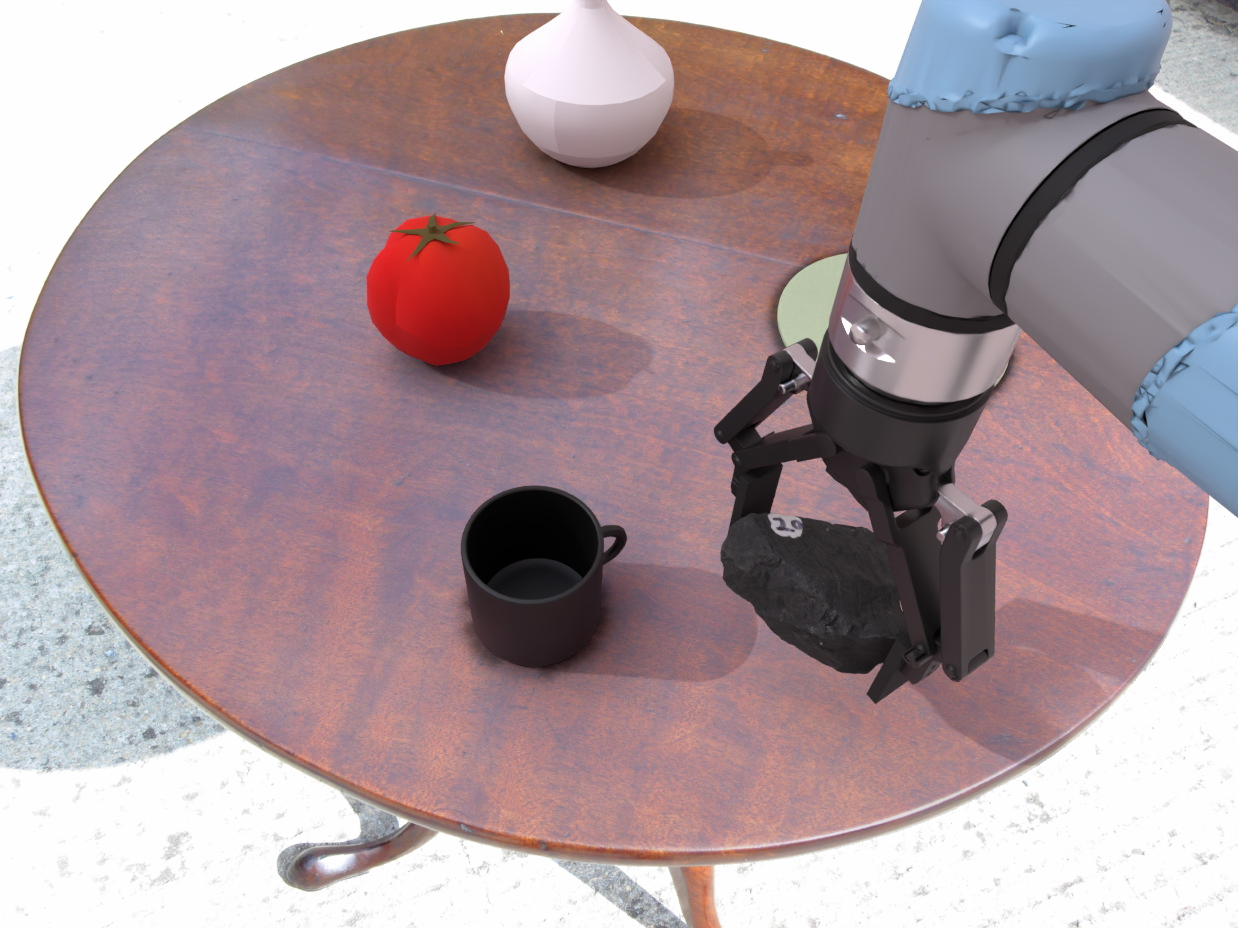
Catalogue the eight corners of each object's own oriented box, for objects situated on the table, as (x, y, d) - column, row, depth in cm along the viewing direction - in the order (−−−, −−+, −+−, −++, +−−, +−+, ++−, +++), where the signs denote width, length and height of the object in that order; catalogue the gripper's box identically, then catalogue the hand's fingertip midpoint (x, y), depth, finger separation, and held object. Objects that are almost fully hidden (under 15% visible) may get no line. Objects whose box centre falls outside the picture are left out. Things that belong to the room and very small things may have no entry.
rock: (715, 546, 59) (727, 491, 54) (873, 553, 59) (898, 498, 55) (722, 675, 53) (735, 626, 49) (896, 682, 54) (926, 633, 49)
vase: (654, 98, 112) (667, -71, 97) (681, 187, 101) (700, 12, 86) (503, 103, 110) (493, -69, 95) (513, 195, 99) (503, 16, 84)
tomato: (367, 319, 86) (339, 200, 75) (494, 292, 89) (484, 173, 79) (394, 407, 79) (368, 289, 69) (531, 374, 82) (525, 256, 72)
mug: (654, 620, 67) (664, 552, 60) (503, 690, 63) (495, 627, 56) (594, 525, 72) (597, 453, 65) (451, 585, 68) (438, 515, 61)
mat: (1057, 354, 87) (1059, 351, 86) (890, 450, 78) (892, 447, 78) (892, 230, 98) (893, 227, 97) (730, 302, 89) (731, 299, 89)
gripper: (673, 230, 44) (647, 499, 61) (1089, 594, 32) (914, 807, 49) (790, 183, 47) (735, 452, 64) (1214, 501, 35) (1008, 732, 51)
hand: (812, 606), depth 56 cm, fingers closed on rock, 12 cm apart
